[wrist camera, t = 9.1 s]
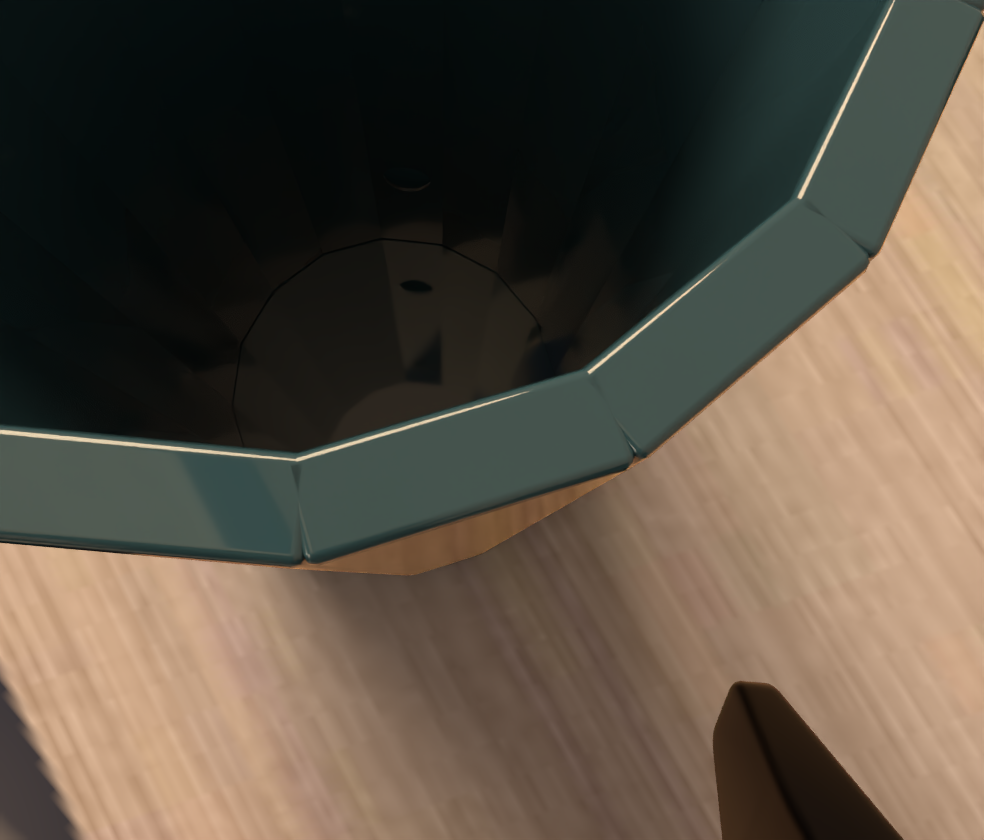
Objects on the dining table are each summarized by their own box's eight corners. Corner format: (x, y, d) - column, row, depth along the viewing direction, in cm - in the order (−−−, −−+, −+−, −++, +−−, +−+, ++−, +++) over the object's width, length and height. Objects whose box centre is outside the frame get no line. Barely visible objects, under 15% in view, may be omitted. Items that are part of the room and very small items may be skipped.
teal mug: (557, 588, 16) (1013, 634, 3) (193, 556, 16) (-860, 464, 3) (592, 94, 18) (962, -1079, 5) (270, 56, 18) (-164, -1279, 5)
